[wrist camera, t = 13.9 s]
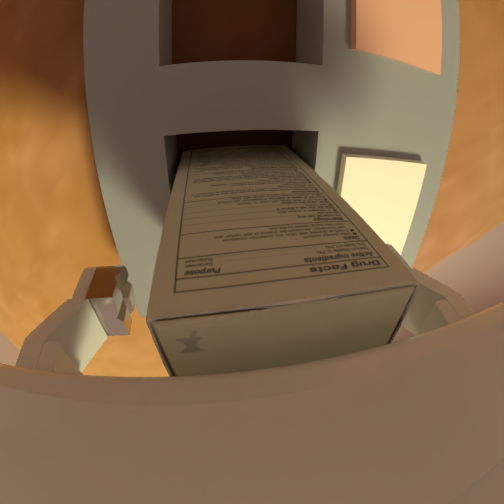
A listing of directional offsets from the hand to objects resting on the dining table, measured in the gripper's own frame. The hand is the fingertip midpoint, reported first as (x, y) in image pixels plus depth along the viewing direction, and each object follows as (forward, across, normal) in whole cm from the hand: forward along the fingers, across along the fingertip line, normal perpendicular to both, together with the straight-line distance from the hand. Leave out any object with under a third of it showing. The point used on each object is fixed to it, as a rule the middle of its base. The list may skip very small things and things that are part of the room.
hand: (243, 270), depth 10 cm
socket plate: (+8, -3, -5) cm, 10 cm away
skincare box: (+8, -1, 0) cm, 8 cm away
